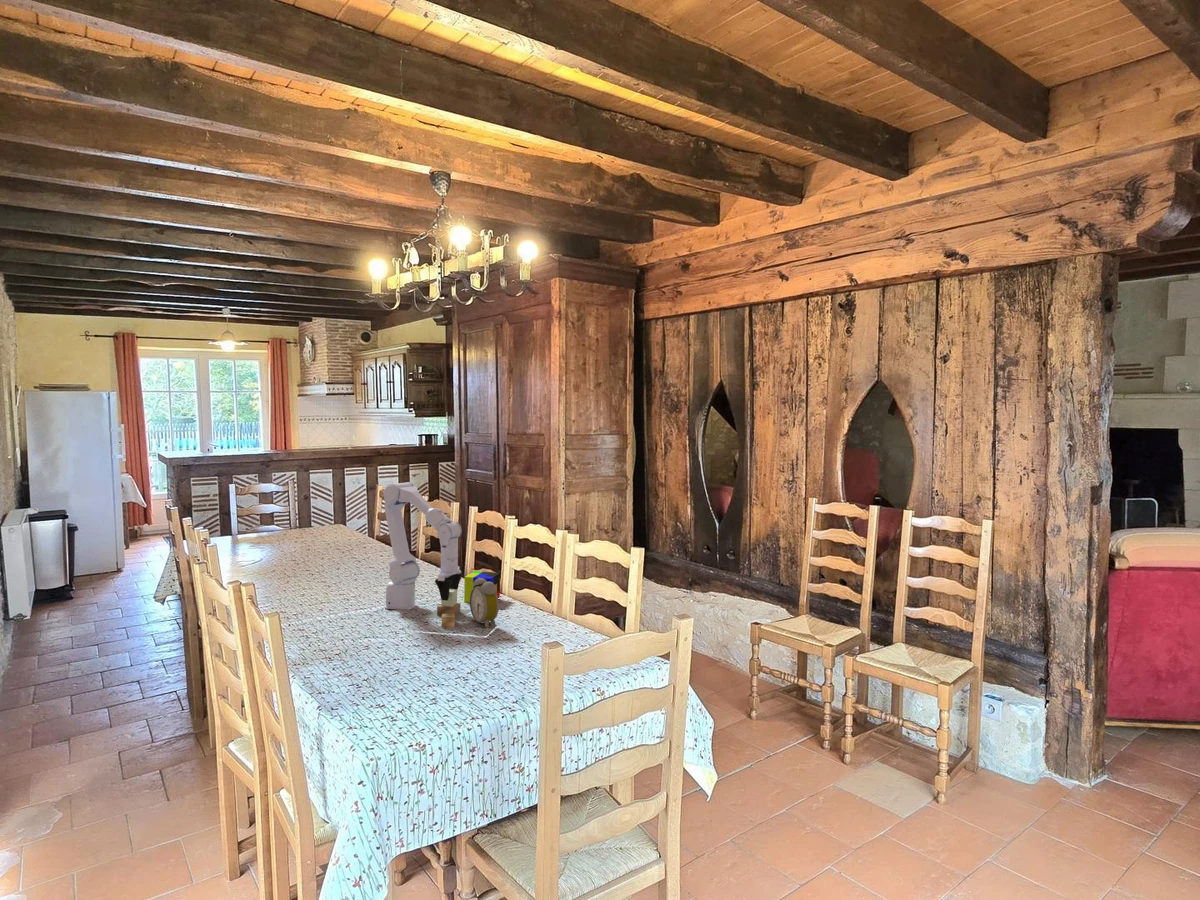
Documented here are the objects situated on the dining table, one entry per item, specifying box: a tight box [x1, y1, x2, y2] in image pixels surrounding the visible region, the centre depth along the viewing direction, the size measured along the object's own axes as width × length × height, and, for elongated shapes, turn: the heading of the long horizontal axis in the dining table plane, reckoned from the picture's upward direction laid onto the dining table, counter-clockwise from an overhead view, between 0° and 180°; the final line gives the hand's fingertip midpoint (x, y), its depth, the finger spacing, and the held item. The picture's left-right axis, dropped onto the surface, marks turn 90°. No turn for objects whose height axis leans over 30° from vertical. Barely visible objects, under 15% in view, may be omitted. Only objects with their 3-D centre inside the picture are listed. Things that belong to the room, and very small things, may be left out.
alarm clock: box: [469, 578, 500, 629], centre depth 231 cm, size 12×7×15 cm, turn 35°
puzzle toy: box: [463, 570, 501, 604], centre depth 260 cm, size 10×10×10 cm
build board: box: [425, 608, 471, 621], centre depth 241 cm, size 12×12×1 cm
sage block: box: [440, 589, 458, 607], centre depth 241 cm, size 4×4×5 cm
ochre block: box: [441, 614, 456, 629], centre depth 228 cm, size 4×4×4 cm
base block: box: [436, 602, 461, 616], centre depth 241 cm, size 6×6×3 cm
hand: (448, 597), depth 241 cm, fingers open, 7 cm apart
